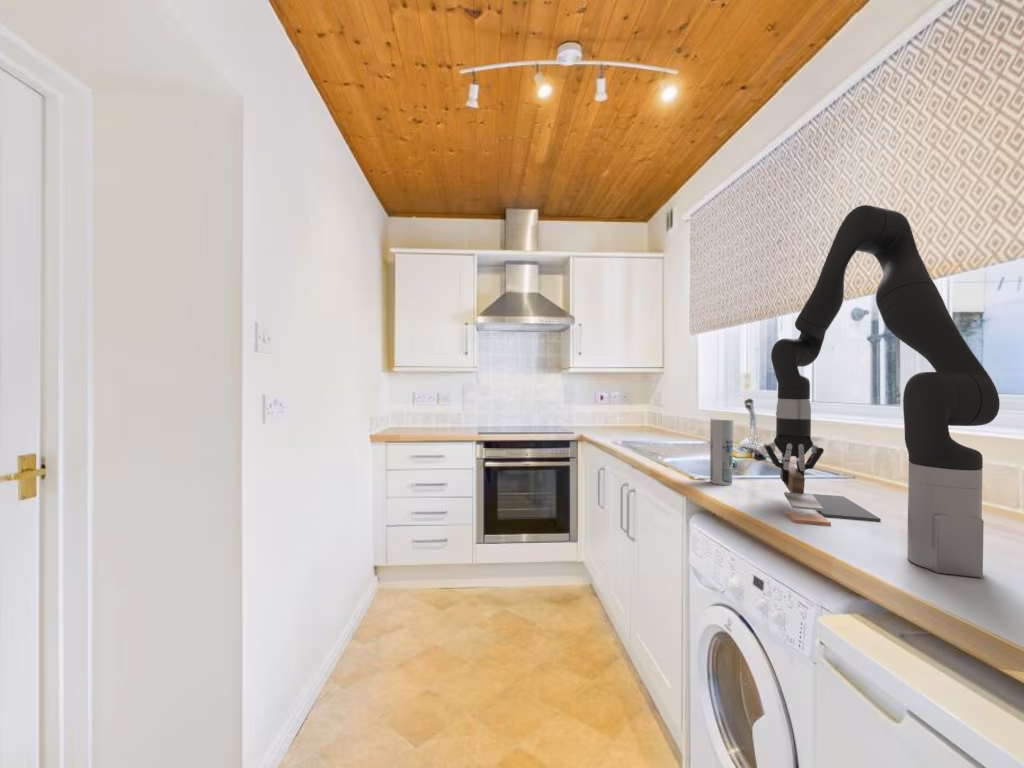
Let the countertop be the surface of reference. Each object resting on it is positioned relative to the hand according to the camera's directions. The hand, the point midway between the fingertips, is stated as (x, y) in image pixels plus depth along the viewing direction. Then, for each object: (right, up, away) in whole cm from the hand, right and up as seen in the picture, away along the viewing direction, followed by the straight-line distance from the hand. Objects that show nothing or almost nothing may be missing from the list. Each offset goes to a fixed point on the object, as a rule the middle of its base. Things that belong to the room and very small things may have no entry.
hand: (792, 484), depth 117 cm
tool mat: (+10, -6, -1) cm, 11 cm away
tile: (-3, -5, -9) cm, 11 cm away
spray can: (-7, -5, +25) cm, 27 cm away
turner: (-1, -1, -3) cm, 3 cm away
